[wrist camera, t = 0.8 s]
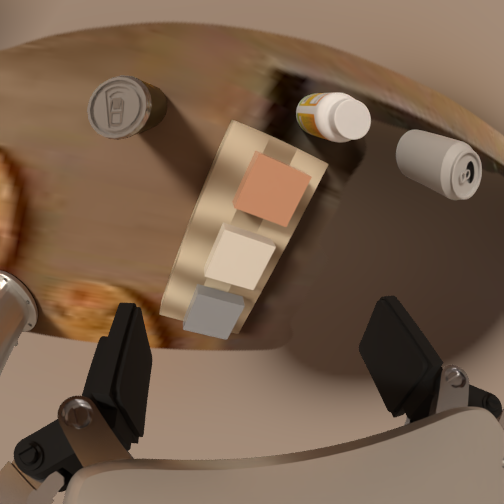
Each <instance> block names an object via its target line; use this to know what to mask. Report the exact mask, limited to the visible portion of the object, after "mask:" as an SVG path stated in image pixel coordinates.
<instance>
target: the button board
mask: <svg viewBox="0 0 504 504" xmlns="http://www.w3.org/2000/svg"><path fill="white" fill-rule="evenodd" d="M255 150H256V151H259V152H261V153H263V154H266V155H268V156H270V157H272V158H275V159H277V160H279V161H281V162H284V163H286V164H288V165H290V166H292V167H295V168H297V169H299V170H301V171H303V172H305V173H307V174H308V175H310V176H311V177H312V178H311V180H310V182H309V184H308V186H307V188H306V190H305V192H304V194H303V196H302V197H301V199H300V201H299V203H298V205H297V207H296V209H295V211H294V213H293V215H292V217H291V219H290V221H289V223H288V225H287V227H284V226H281V225H279V224H276V223H273V222H271V221H268V220H265V219H263V218H260V217H257V216H255V215H252V214H249V213H247V212H244V211H241V210H238V209H236V208H234V206H233V203H232V201H233V199H234V196H235V194H236V192H237V190H238V187H239V185H240V183H241V181H242V179H243V176H244V174H245V172H246V170H247V168H248V165H249V163H250V161H251V159H252V157H253V154H254V152H255ZM327 166H328V164H327V163H325V162H323V161H321V160H319V159H317V158H315V157H313V156H311V155H310V154H308V153H306V152H303V151H301V150H299V149H297V148H295V147H293V146H291V145H289V144H287V143H285V142H283V141H280V140H278V139H276V138H274V137H272V136H270V135H267V134H265V133H263V132H261V131H258V130H256V129H254V128H251V127H249V126H247V125H244V124H242V123H239V122H237V121H234V120H231V122H230V124H229V127H228V129H227V131H226V133H225V136H224V138H223V140H222V142H221V145H220V147H219V149H218V152H217V154H216V156H215V159H214V161H213V163H212V166H211V168H210V170H209V173H208V175H207V178H206V180H205V183H204V185H203V188H202V190H201V193H200V195H199V198H198V200H197V203H196V205H195V208H194V210H193V213H192V216H191V218H190V221H189V223H188V226H187V229H186V232H185V234H184V237H183V240H182V242H181V245H180V248H179V251H178V254H177V256H176V259H175V262H174V265H173V268H172V271H171V274H170V277H169V280H168V283H167V286H166V289H165V292H164V295H163V298H162V301H161V308H160V315H164V316H167V317H171V318H175V319H178V320H182V321H183V319H184V316H185V314H186V311H187V309H188V306H189V304H190V301H191V299H192V296H193V294H194V291H195V289H196V286H197V284H200V285H203V286H207V287H210V288H214V289H217V290H221V291H225V292H228V293H232V294H235V295H239V296H243V300H244V305H245V307H244V309H243V311H242V312H241V314H240V316H239V318H238V320H237V322H236V324H235V325H234V327H233V329H232V331H231V332H232V333H237V334H238V333H239V331H240V330H241V328H242V326H243V324H244V322H245V321H246V319H247V317H248V315H249V314H250V312H251V310H252V308H253V306H254V304H255V303H256V301H257V299H258V297H259V295H260V294H261V292H262V290H263V288H264V286H265V284H266V283H267V281H268V279H269V277H270V275H271V273H272V272H273V270H274V268H275V266H276V264H277V262H278V260H279V259H280V257H281V255H282V253H283V251H284V249H285V247H286V245H287V244H288V242H289V240H290V238H291V236H292V234H293V232H294V230H295V228H296V227H297V225H298V223H299V221H300V219H301V217H302V215H303V213H304V211H305V209H306V207H307V205H308V203H309V202H310V200H311V198H312V196H313V194H314V192H315V190H316V188H317V186H318V184H319V182H320V180H321V178H322V176H323V174H324V172H325V170H326V168H327ZM223 222H224V223H227V224H230V225H233V226H236V227H239V228H242V229H244V230H247V231H250V232H253V233H256V234H259V235H262V236H264V237H267V238H270V239H272V240H273V242H274V244H275V246H276V248H275V250H274V252H273V254H272V256H271V258H270V260H269V261H268V263H267V265H266V267H265V269H264V271H263V273H262V275H261V277H260V279H259V280H258V282H257V284H256V286H255V288H254V290H250V289H247V288H243V287H240V286H236V285H233V284H229V283H226V282H222V281H219V280H215V279H212V278H208V277H205V273H204V267H205V264H206V262H207V259H208V257H209V255H210V252H211V250H212V247H213V245H214V243H215V240H216V238H217V236H218V233H219V231H220V229H221V226H222V224H223Z"/></svg>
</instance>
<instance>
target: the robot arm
mask: <svg viewBox="0 0 504 504" xmlns="http://www.w3.org/2000/svg"><path fill="white" fill-rule="evenodd" d="M37 319H38V310H37V306H36V303H35V301H34V299H33V297H32V295H31V293H30V292H29V291H28V289H27V288H26V287H25V286H24V285H23V283H21V282H20V281H19V280H18V279H17V278H16V277H14V276H13V275H11V274H9V273H7V272H4V271H0V375H1V372H2V370H3V368H4V366H5V364H6V362H7V360H8V358H9V355H10V353H11V352H12V350H13V348H14V346H17V345H18V341H17V340H18V338H19V336H20V334H21V332H23V331H29V330H31V329H32V328H33V327H34V326H35V324H36V322H37ZM359 352H360V354H361V356H362V358H363V360H364V362H365V364H366V366H367V368H368V370H369V372H370V374H371V376H372V378H373V380H374V382H375V385H376V387H377V388H378V391H379V393H380V395H381V397H382V399H383V401H384V403H385V406H386V408H387V410H388V411H389V412H391V413H392V415H393V417H397V416H401V415H403V414H404V413H406V415H407V419H406V422H405V425H404V426H401V427H399V428H396V429H393V430H390V431H387V432H383V433H380V434H376V435H373V436H369V437H366V438H362V439H358V440H355V441H351V442H347V443H342V444H338V445H334V446H329V447H324V448H319V449H315V450H308V451H303V452H296V453H290V454H283V455H275V456H266V457H256V458H243V459H227V460H226V459H224V460H166V459H134V458H133V457H132V456H131V454H130V453H129V452H128V450H130V447H131V443H138V439H139V437H143V434H144V425H145V414H146V406H147V397H148V389H149V382H150V374H151V367H152V354H151V350H150V346H149V342H148V338H147V334H146V329H145V325H144V320H143V316H142V311H141V308H140V307H136V304H135V303H120V304H119V306H118V309H117V312H116V315H115V317H114V320H113V323H112V326H111V329H110V332H109V335H108V337H105V336H102V337H101V338H100V340H99V342H98V345H97V348H96V351H95V354H94V357H93V360H92V363H91V367H90V370H89V373H88V376H87V380H86V383H85V387H84V390H83V394H82V396H72V397H69V398H68V399H66V400H65V401H64V402H63V403H62V404H61V405H60V407H59V410H58V419H57V420H55V421H54V422H52V423H50V424H49V425H47V426H45V427H43V428H42V429H40V430H38V431H37V432H35V433H33V434H31V435H29V436H28V437H26V438H24V439H22V440H21V441H20V442H19V443H18V444H17V445H16V447H15V450H14V460H13V462H12V463H11V462H9V461H8V462H7V464H6V465H5V466H4V467H3V468H2V469H1V471H0V504H52V503H53V501H54V500H53V497H54V496H55V495H56V494H57V492H62V491H65V490H66V492H65V496H64V501H63V504H504V409H503V410H502V406H501V403H500V401H499V399H498V398H497V397H496V396H495V395H493V394H491V393H489V392H486V391H484V390H482V389H479V388H477V387H474V386H472V385H470V384H469V378H468V376H467V374H466V372H465V371H464V370H463V369H461V368H460V367H458V366H456V365H447V366H445V367H444V368H443V369H442V367H441V366H442V364H443V362H442V360H441V359H440V357H439V356H438V354H437V353H436V351H435V350H434V348H433V347H432V345H431V344H430V343H429V341H428V340H427V338H426V337H425V336H424V334H423V333H422V331H421V330H420V328H419V327H418V326H417V324H416V323H415V322H414V321H413V319H412V318H411V316H410V315H409V313H408V312H407V311H406V310H405V308H404V307H403V305H402V304H401V303H400V302H399V300H397V298H396V297H395V296H385V297H381V298H380V300H379V301H377V303H376V306H375V308H374V311H373V313H372V316H371V318H370V321H369V323H368V326H367V328H366V331H365V333H364V335H363V338H362V340H361V342H360V345H359Z"/></svg>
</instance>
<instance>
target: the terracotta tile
mask: <svg viewBox="0 0 504 504" xmlns="http://www.w3.org/2000/svg"><path fill="white" fill-rule="evenodd" d="M311 178H312V177H311V176H310V175H308V174H307V173H305V172H303V171H301V170H299V169H297V168H295V167H292V166H290V165H288V164H286V163H284V162H281V161H279V160H277V159H275V158H272V157H270V156H268V155H266V154H263V153H261V152H259V151H256V150H255V152H254V154H253V157H252V159H251V161H250V163H249V165H248V168H247V170H246V172H245V174H244V176H243V179H242V181H241V183H240V185H239V187H238V190H237V192H236V194H235V196H234V199H233V201H232V203H233V206H234V208H236V209H238V210H241V211H244V212H247V213H249V214H252V215H255V216H257V217H260V218H263V219H265V220H268V221H271V222H273V223H276V224H279V225H281V226H284V227H287V225H288V223H289V221H290V219H291V217H292V215H293V213H294V211H295V209H296V207H297V205H298V203H299V201H300V199H301V197H302V196H303V194H304V192H305V190H306V188H307V186H308V184H309V182H310V180H311Z"/></svg>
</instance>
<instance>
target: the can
mask: <svg viewBox="0 0 504 504" xmlns="http://www.w3.org/2000/svg"><path fill="white" fill-rule="evenodd" d="M396 161H397V165H398V168H399V169H400V171H401V173H402V174H403V175H405V176H406V177H407V178H410V179H412V180H414V181H416V182H418V183H420V184H422V185H424V186H426V187H428V188H430V189H432V190H434V191H436V192H438V193H440V194H442V195H443V196H445V197H447V198H449V199H452V200H459V199H462V200H464V199H468V198H469V197H471V196H472V195H473V194H474V193H475V192H476V190H477V188H478V186H479V184H480V180H481V175H482V167H481V161H480V158H479V156H478V155H477V153H476V152H474V151H473V150H472V148H471V147H470V146H469V145H468V144H466V143H464V142H461V141H458V140H455V139H451V138H448V137H444V136H441V135H437V134H433V133H429V132H425V131H421V130H410V131H408V132H406V133H405V134H404V135H403V136H402V137H401V139H400V141H399V143H398V145H397V150H396Z"/></svg>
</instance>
